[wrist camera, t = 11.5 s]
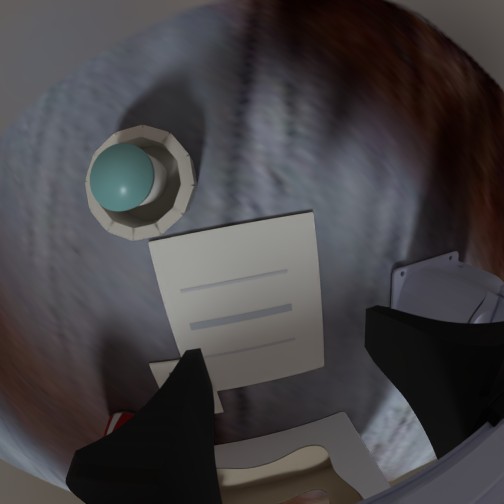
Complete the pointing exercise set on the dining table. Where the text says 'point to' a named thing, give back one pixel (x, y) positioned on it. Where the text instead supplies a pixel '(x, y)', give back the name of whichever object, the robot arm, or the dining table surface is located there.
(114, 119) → the dining table surface
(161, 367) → the word card
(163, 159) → the pen cup
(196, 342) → the paper
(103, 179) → the marker
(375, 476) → the gable box
